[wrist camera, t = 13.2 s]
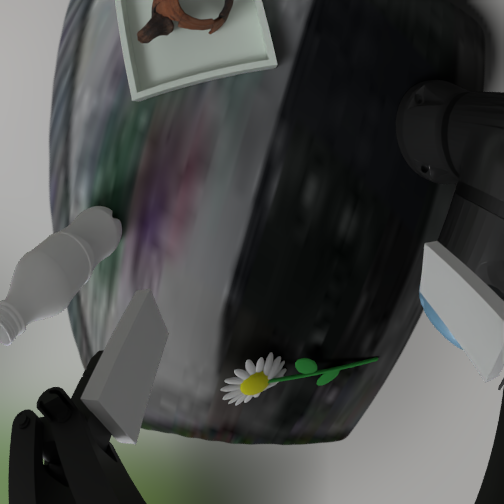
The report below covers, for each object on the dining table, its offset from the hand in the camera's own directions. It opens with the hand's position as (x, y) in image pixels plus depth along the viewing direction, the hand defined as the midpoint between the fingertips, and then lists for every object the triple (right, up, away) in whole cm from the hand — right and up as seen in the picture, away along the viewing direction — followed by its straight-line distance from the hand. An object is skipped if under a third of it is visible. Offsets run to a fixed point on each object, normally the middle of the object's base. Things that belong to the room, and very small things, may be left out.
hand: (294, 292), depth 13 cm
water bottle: (-23, +6, +27) cm, 36 cm away
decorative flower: (+8, -19, +39) cm, 44 cm away
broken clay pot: (-10, +31, +14) cm, 36 cm away
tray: (-9, +30, +15) cm, 35 cm away
